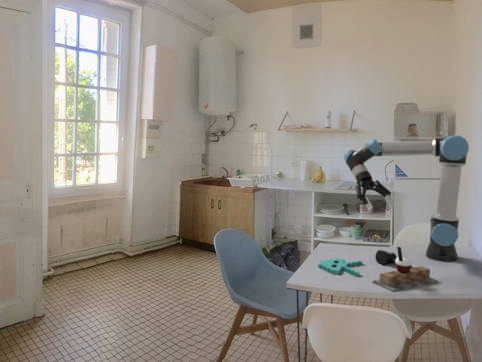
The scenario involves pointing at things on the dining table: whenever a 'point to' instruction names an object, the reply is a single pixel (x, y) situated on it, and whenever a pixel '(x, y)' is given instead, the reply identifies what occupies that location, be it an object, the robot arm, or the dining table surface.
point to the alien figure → (339, 266)
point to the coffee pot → (385, 257)
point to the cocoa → (402, 263)
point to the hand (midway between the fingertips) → (382, 207)
